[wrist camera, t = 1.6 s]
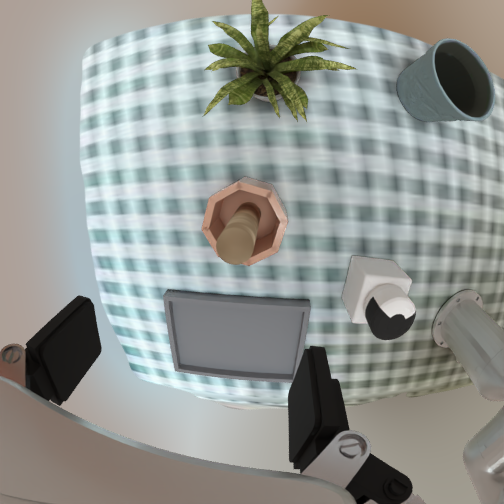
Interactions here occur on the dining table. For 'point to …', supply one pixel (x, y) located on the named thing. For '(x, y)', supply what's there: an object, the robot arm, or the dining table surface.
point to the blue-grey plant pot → (447, 85)
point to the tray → (236, 335)
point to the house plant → (270, 63)
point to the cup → (270, 220)
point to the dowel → (239, 234)
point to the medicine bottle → (379, 296)
